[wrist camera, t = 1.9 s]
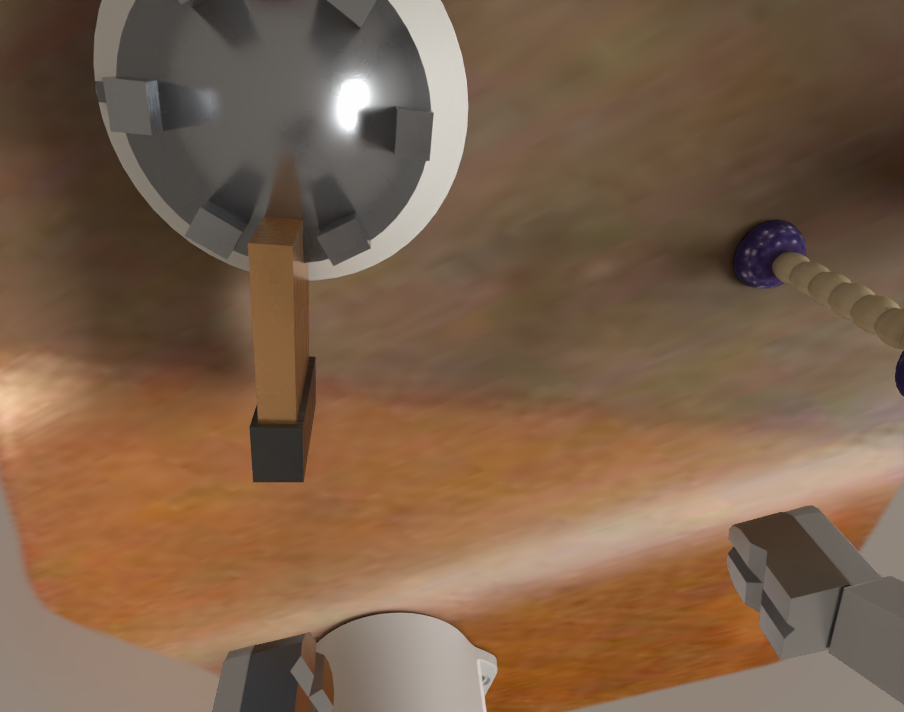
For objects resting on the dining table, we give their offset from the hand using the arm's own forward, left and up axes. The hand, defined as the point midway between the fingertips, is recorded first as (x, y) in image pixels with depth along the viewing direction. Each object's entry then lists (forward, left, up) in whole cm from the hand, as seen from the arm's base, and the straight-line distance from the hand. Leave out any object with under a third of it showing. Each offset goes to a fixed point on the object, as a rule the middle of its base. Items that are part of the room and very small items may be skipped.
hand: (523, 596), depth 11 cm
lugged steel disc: (+2, +7, -21) cm, 22 cm away
